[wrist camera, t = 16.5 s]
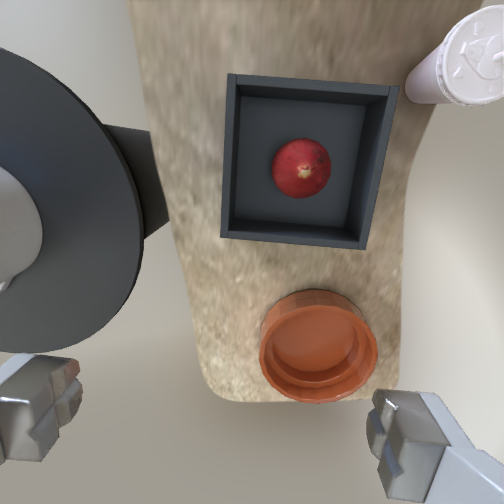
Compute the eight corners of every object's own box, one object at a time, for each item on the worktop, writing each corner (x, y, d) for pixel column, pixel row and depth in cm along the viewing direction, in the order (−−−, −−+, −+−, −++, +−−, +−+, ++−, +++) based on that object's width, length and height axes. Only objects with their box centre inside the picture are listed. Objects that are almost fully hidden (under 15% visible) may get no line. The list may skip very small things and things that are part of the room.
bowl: (256, 373, 44) (254, 397, 39) (265, 283, 39) (264, 300, 35) (355, 383, 43) (364, 408, 39) (375, 293, 39) (389, 311, 35)
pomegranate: (312, 129, 32) (326, 123, 25) (331, 179, 34) (350, 188, 26) (262, 154, 33) (261, 155, 26) (283, 201, 35) (288, 215, 27)
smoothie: (438, 124, 32) (558, 107, 19) (381, 109, 32) (462, 80, 19) (467, 57, 30) (624, -15, 17) (406, 39, 30) (516, -48, 17)
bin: (227, 222, 37) (219, 237, 30) (234, 88, 32) (227, 72, 26) (348, 233, 36) (365, 250, 30) (373, 98, 32) (399, 86, 26)
